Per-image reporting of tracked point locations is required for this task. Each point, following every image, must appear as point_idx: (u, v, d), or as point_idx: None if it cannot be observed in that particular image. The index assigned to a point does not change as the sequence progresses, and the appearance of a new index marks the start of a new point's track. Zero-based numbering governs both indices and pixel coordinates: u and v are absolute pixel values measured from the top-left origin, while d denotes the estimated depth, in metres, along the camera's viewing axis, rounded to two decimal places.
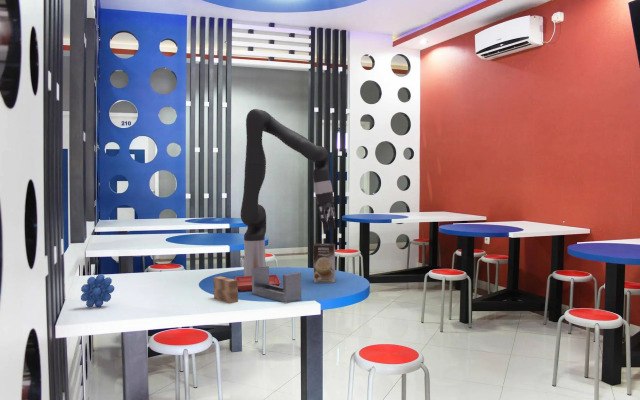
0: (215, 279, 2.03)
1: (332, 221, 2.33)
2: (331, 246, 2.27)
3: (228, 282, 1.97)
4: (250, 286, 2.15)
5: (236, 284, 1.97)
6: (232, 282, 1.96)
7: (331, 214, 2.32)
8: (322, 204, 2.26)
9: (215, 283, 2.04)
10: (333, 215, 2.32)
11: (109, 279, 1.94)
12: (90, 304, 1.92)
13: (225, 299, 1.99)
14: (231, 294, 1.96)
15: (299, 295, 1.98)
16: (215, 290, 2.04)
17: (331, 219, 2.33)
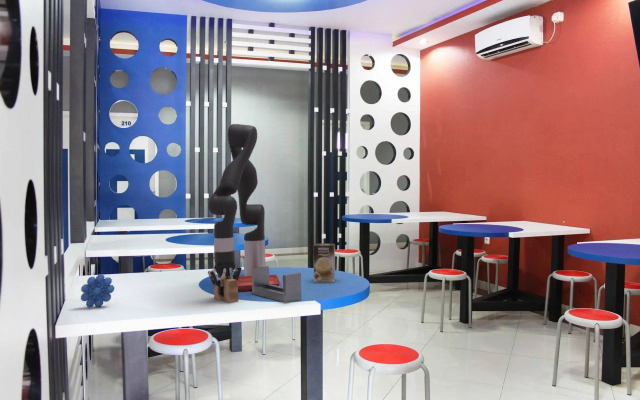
0: None
1: None
2: (331, 246, 2.27)
3: (228, 282, 1.97)
4: (250, 286, 2.15)
5: (236, 284, 1.97)
6: (232, 282, 1.96)
7: (229, 276, 2.01)
8: (215, 264, 1.98)
9: None
10: (230, 278, 2.01)
11: (109, 279, 1.94)
12: (90, 304, 1.92)
13: (225, 299, 1.99)
14: (231, 294, 1.96)
15: (299, 295, 1.98)
16: (215, 290, 2.04)
17: None
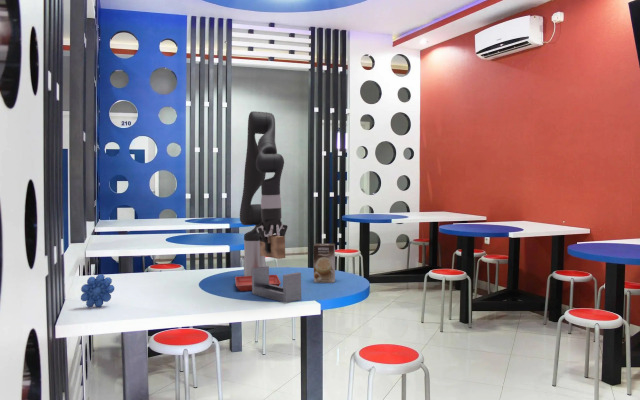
0: None
1: None
2: (331, 246, 2.27)
3: (276, 238, 1.99)
4: (250, 286, 2.15)
5: (283, 240, 1.99)
6: (280, 238, 1.98)
7: None
8: (263, 221, 2.00)
9: None
10: (277, 235, 2.03)
11: (109, 279, 1.94)
12: (90, 304, 1.92)
13: (272, 255, 2.01)
14: (279, 250, 1.98)
15: (299, 295, 1.98)
16: (261, 248, 2.06)
17: None
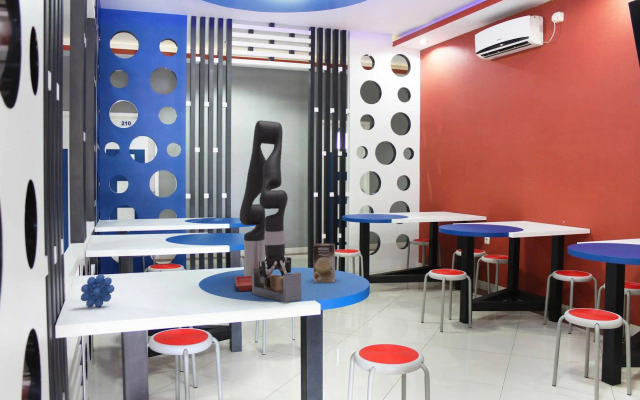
0: None
1: None
2: (331, 246, 2.27)
3: (280, 279, 2.00)
4: (250, 286, 2.15)
5: None
6: None
7: (282, 268, 2.05)
8: (266, 257, 2.01)
9: None
10: (283, 270, 2.04)
11: (109, 279, 1.94)
12: (90, 304, 1.92)
13: None
14: None
15: (299, 295, 1.98)
16: (265, 287, 2.07)
17: (282, 274, 2.06)
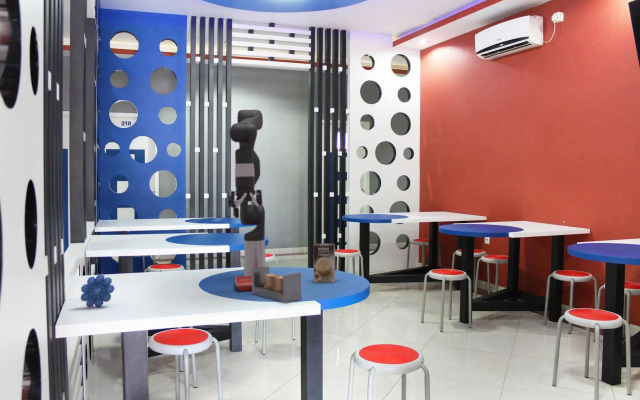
0: (265, 276, 2.07)
1: (254, 208, 2.12)
2: (331, 246, 2.27)
3: (279, 279, 2.00)
4: (250, 286, 2.15)
5: None
6: None
7: (252, 200, 2.11)
8: (236, 188, 2.07)
9: (265, 280, 2.07)
10: (254, 202, 2.11)
11: (109, 279, 1.94)
12: (90, 304, 1.92)
13: None
14: None
15: (299, 295, 1.98)
16: (265, 287, 2.07)
17: (254, 206, 2.13)
